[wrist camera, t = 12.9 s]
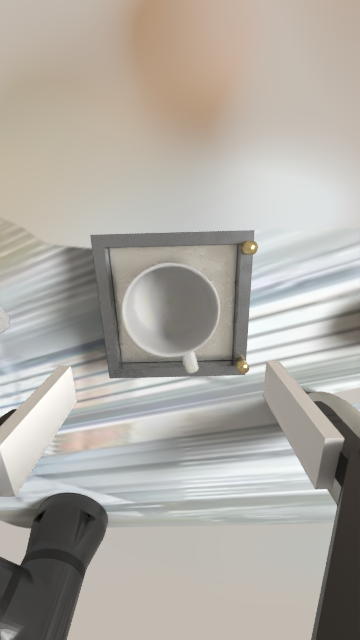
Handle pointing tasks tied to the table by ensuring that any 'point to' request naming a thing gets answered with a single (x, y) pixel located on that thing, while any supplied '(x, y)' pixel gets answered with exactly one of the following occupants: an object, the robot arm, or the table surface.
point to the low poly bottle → (3, 320)
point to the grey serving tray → (193, 250)
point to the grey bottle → (349, 415)
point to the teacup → (171, 311)
